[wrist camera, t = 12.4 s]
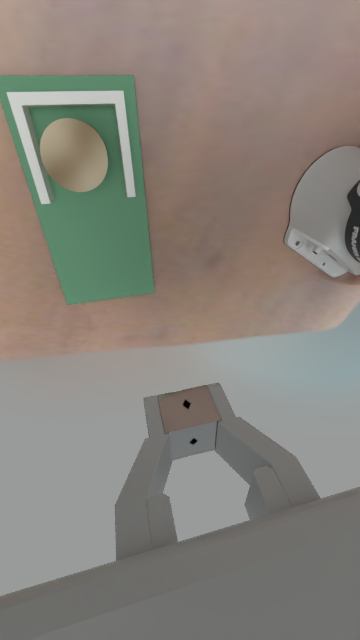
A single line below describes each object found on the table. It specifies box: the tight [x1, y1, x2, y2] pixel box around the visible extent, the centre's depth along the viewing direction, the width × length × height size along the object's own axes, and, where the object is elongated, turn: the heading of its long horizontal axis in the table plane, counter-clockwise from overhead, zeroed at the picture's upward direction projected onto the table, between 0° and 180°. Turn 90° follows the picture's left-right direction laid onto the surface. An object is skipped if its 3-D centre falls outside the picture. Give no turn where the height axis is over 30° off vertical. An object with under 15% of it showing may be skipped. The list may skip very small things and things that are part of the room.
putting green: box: [0, 75, 155, 305], centre depth 35 cm, size 27×14×4 cm, turn 2°
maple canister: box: [40, 118, 108, 192], centre depth 29 cm, size 6×6×8 cm
